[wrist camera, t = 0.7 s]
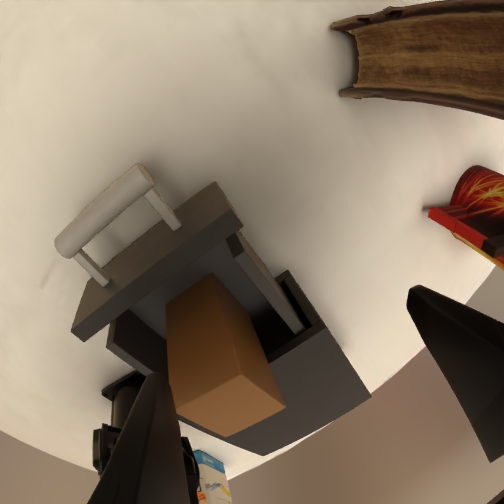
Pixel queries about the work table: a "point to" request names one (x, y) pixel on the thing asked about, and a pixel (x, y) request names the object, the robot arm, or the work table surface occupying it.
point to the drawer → (170, 272)
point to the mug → (477, 213)
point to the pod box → (217, 361)
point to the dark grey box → (302, 384)
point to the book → (432, 54)
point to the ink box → (211, 480)
